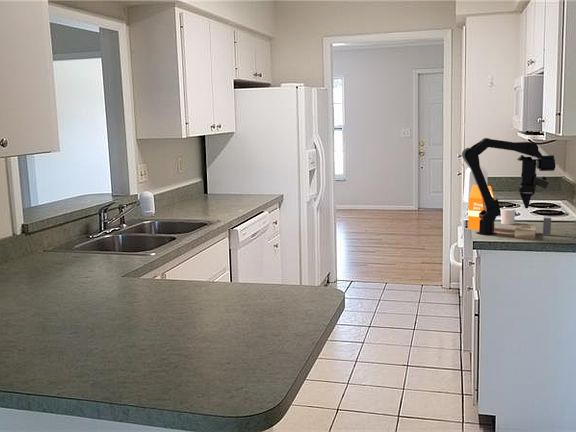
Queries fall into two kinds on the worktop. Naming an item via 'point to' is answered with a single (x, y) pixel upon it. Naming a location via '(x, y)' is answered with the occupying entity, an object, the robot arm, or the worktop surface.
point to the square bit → (547, 226)
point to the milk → (471, 182)
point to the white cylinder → (507, 216)
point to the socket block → (525, 232)
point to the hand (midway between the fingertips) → (527, 206)
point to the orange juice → (475, 207)
